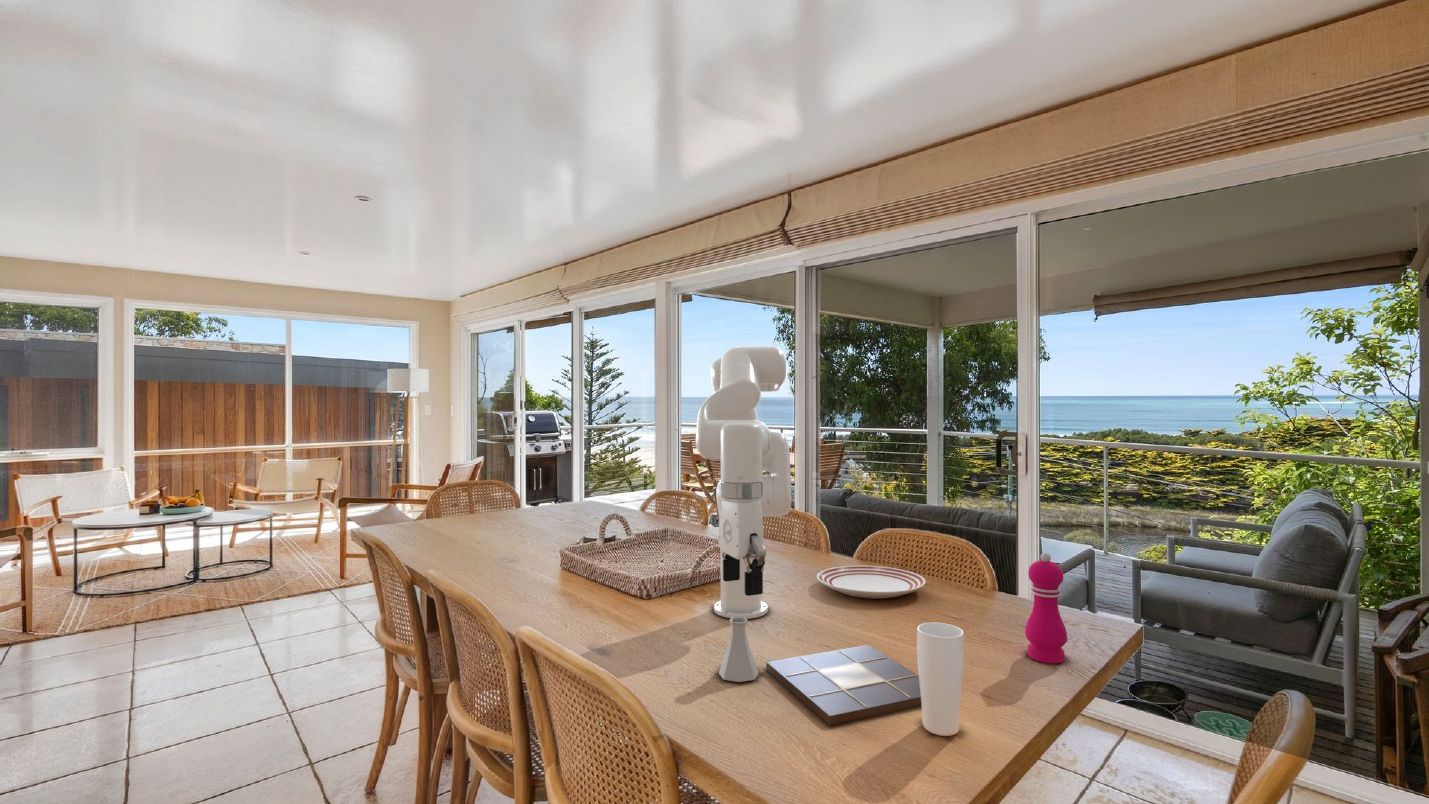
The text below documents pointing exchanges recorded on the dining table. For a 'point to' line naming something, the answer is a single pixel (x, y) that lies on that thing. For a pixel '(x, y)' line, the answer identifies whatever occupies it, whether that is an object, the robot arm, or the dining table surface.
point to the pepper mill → (1045, 613)
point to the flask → (738, 654)
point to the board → (848, 683)
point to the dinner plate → (871, 581)
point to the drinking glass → (940, 676)
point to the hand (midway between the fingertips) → (742, 587)
